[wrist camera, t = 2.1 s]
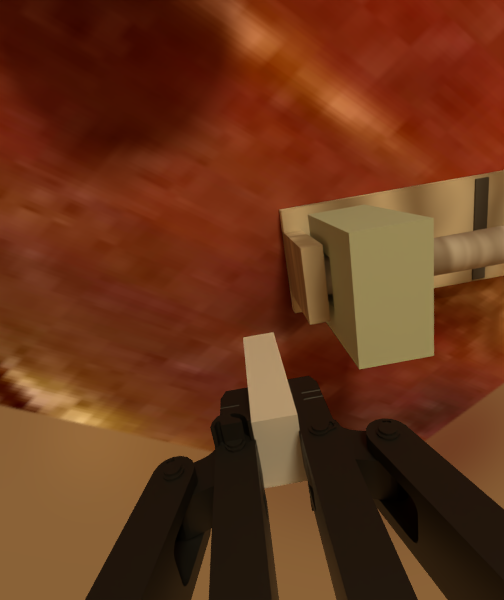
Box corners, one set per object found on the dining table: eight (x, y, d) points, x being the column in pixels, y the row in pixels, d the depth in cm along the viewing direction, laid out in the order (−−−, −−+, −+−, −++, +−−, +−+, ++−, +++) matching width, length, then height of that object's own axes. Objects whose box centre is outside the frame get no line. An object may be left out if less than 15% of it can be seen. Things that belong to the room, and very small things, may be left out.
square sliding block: (318, 311, 34) (359, 369, 24) (307, 214, 32) (348, 232, 21) (370, 301, 35) (433, 355, 24) (364, 204, 32) (433, 217, 21)
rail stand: (292, 309, 37) (312, 347, 29) (279, 209, 34) (297, 220, 26) (512, 269, 38) (596, 296, 29) (519, 167, 35) (616, 164, 26)
